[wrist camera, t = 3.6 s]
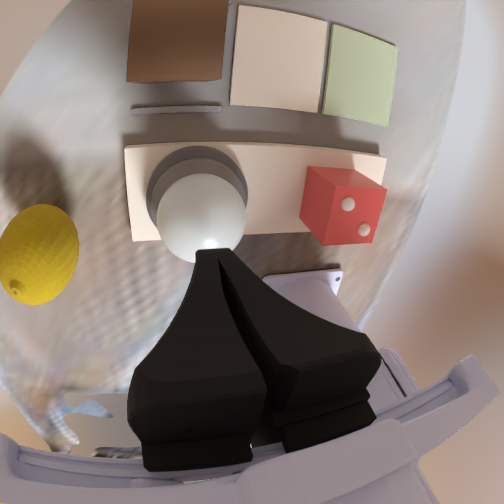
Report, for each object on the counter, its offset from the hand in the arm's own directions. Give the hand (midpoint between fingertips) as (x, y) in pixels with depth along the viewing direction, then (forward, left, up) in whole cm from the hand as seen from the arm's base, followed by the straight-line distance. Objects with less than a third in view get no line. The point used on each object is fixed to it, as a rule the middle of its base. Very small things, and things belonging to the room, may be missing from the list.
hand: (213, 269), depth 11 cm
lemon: (-2, +11, -10) cm, 14 cm away
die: (0, -9, -8) cm, 13 cm away
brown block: (+9, +2, -9) cm, 13 cm away
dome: (0, 0, -7) cm, 7 cm away
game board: (+5, -5, -9) cm, 12 cm away
